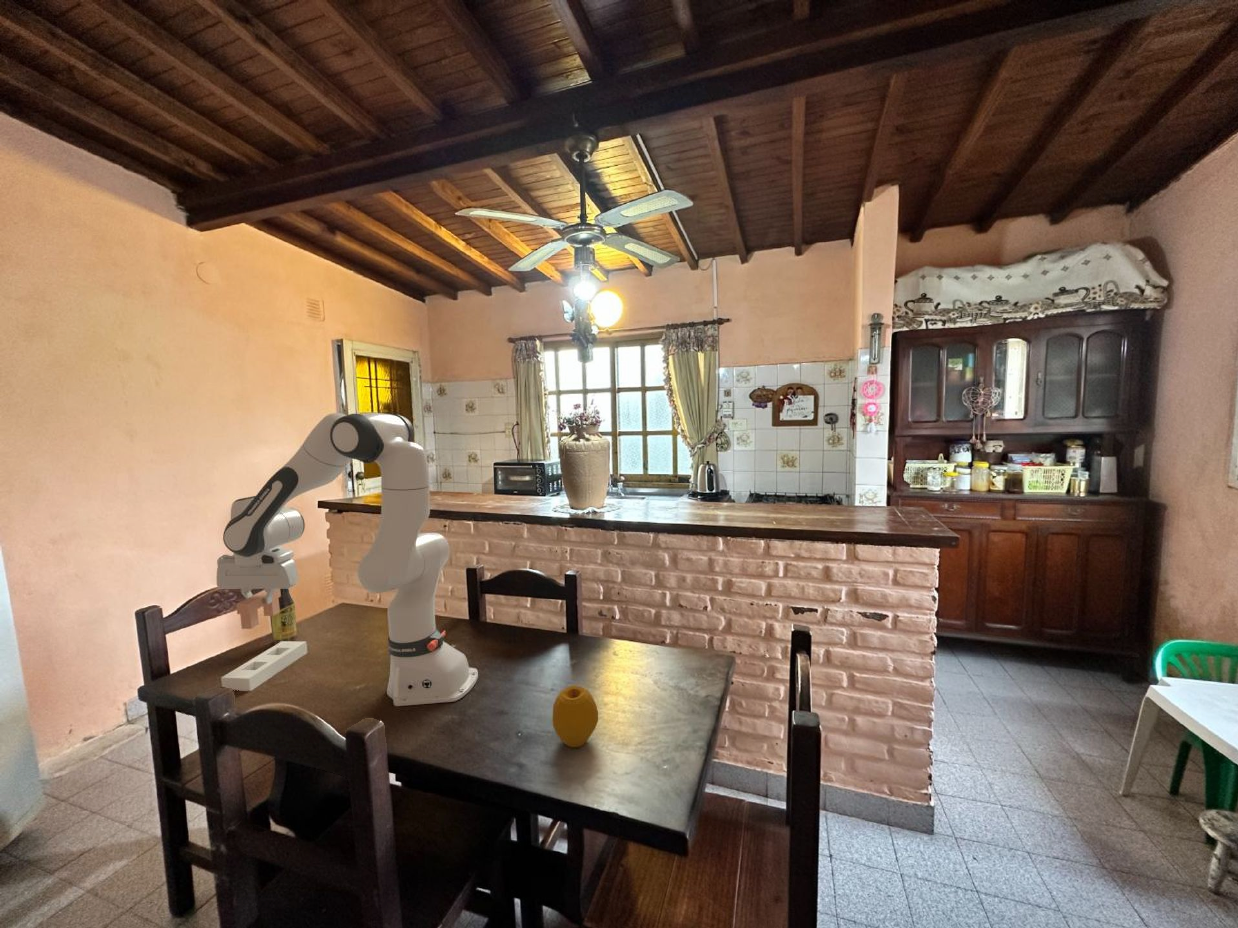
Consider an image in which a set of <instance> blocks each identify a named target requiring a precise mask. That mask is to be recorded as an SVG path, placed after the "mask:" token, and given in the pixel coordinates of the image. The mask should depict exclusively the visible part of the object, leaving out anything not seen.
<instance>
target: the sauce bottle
mask: <svg viewBox="0 0 1238 928" xmlns="http://www.w3.org/2000/svg"><path fill="white" fill-rule="evenodd" d="M289 589H290V588H288V589H280V592H281V597H279V608H280V612H279V613H277V614H276V615H274V616H270V618H271V628H272V630H271V631H272V639H273V644H274V645H276V644H278V643H280V642H281V641H295V640H297V633H298V632H297V630H298V629H297V617H296V605H295V602H294V600H293V598H292V596H291V594H290V590H289Z"/></svg>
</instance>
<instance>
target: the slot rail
mask: <svg viewBox="0 0 1238 928" xmlns="http://www.w3.org/2000/svg"><path fill="white" fill-rule="evenodd" d="M307 654H308V645H307V641H295V640H294V641H281V642H280V643H278V644H274V646H272V647H270V648H268V649H267V650H265V651H263V652H262V653H260V654H258V655H256V656H255V657H252V658H251V659H250V660H248V661H246V662H245V663H242V665H240V666H238V667H237V668H235V669H233V670H231V671H230V672H228V673H227V674H225V675H223V676H221V678H220V680H221V688H222V687H226V688H232V689H235V690H237V691H238V690H239V691H238V692H251V691H253V690H254V689H256V688H258V687H259V686H260V685H262V684H264V683H265V682H266V681H268V680H269V679H271V678H272V677H274V676H275V675H276V674H279V672H280V673H281V671H283V670H284V669H286V668H287V667H289V666H290V665H291V664H294V662H296V661H299V659H300V658H302V657H304V656H305V655H307ZM235 690H234V691H233V692H235Z"/></svg>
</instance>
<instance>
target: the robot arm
mask: <svg viewBox="0 0 1238 928" xmlns="http://www.w3.org/2000/svg"><path fill="white" fill-rule="evenodd" d="M414 439H415V429H414V426H413V424H412V422H411V421H410V420H409V419H408V418H406V417H405V416H402V415H400V414H396V413H382V412H376V411H375V412H362V413H350V414H344V413H340V412H334V413H329V414H327V415H325V416H324V417H323V418H322V419H321V420H320V421H319V422H318V423H317V424H316V425H315V426H314V427H313V429H312V430H311V431H310V433H309V434H308V435H307V437H306V438H305V440H304V441H303V443H302V444H301V445H300V447H299V449H298V450H297V451H296V452H295V454H294V455H293V456H292V457H291V458H290V459H289V460H288V461H287V462H286V463H285V464H284V465H283V466H282V467H281V468H279V469H278V470H277V471H276V472H275V473H274V474H273V475H272V476H271V477H270V478H269V479H268V480H267V482H265V484H264V485H263V486H262V487H261V488H260V490H259V491H258V492H257V494H256V495H252V496H248V497H243V498H238V499H235V500H234V501H233V502H232V504H231V508H230V520H229V521H228V523H227V524H226V526H225V528H224V531H223V537H222V538H223V539H222V541H223V544H224V545H225V547H226V548H227V549H228V551H230V552H231V553H233V554H223V555H221V556H220V557H218V558H217V560H216V562H217V563H216V564H217V565H216V566H217V568H216V586H217V587H218V588H219V589H220V590H240V593H241V594H242V596H243V597H244V598H245V599H247V598H249V597H251V596H253V595H254V594H253V593H252V591H251V590H265V592H267V595H266V597H264V598H262V601H263V604H270V603H271V602H272V596H273V594H274V592H275V590H276V589H288V588H289V589H291V588H292V587H294V586H296V585H297V584H298V581H299V577H298V576H299V574H298V568H297V563H296V562H295V560H294V559H292V558H293V557H294V554H295V553H294V551H293V550H292V549H290V548H286V547H283V545H285V544H289V543H292V542H295V541H296V540H298V539H300V538H301V537H302V535H303V534H304V532H305V526H306V525H305V524H306V523H305V519H304V517H303V514H301V513H300V511H299V510H298V509H295V508H293V507H286V505H287V504H288V503H289V502H290V501H292V500H293V499H294V498H297V497H298V496H301V495H302V494H305V493H307V492H309V491H311V490H314V489H318V488H320V487H323V486H326V485H329V484H330V483H332V482H334V480H336V479H337V478H338V477H339V476H340V475H341V474H342V473H343V472H344V470H345V469H346V468H347V466H348V464H349V463H350V461H351V459H353V460H357V461H359V462H361V463H364V464H366V465H369V464H372V463H374V462H375V463H376V464H377V465H378V466H379V469H380V476H381V479H380V481H381V482H380V484H381V485H380V486H381V508H380V509H381V510H380V520H379V526H378V528H377V532H376V535H375V538H374V540H373V541H372V543H371V546H370V548H369V550H368V551H367V552H366V553H365V554H364V555H363V557H362V558H361V559H360V561H359V563H358V565H357V578H358V580H359V583H360V584H361V586H362V587H363V588H364V589H365V590H366V591H368V592H369V593H372V594H381V593H387V592H392V591H395V592H396V593H395V594H394V596H393V598H392V599H391V600H390V602H389V604H388V606H387V622H388V623H387V625H388V634H389V635H388V637H387V646H388V654H389V656H390V665H389V666H390V667H389V679H388V684H387V688H386V694H387V696H388V697H389V698H390V699H392V700H393V701H392V703H393V705H394V706H395V707H402V706H414V705H425V704H427V705H428V704H437V703H438V704H439V703H451V702H456V701H458V700H460V699H461V698H463V697H464V696H466V695H467V694H468V693H469V692H470V691H471V690H472V689H473V687H474V685H476V683H477V681H478V678H479V672H478V669H477V668H475V667H469V662H468V659H467V657H466V655H465V654H464V653H463V652H461V651H459V650H458V649H456V648H454V647H453V646H452V645H449V643H447V642H445V641H444V639H443V638H444V637H445V636H446V630H443V631H442V632H440V631H439V629H438V627H437V626H436V613H435V611H436V609H435V608H436V607H435V600H436V592H437V587H438V583H439V579H440V576H441V574H442V570H443V568H444V567H445V564H446V563H447V561H448V560H449V558H450V554H451V549H450V544H449V542H448V541H447V539H446V537H445V536H444V535H442V534H440V533H438V532H422V533H420V531H421V529H422V527H423V526H424V524H425V523H426V522H427V521H428V519H429V517H430V515H431V513H430V512H431V501H430V500H431V499H430V498H431V497H430V496H431V495H430V494H431V490H430V489H431V488H430V487H431V486H430V472H429V464H428V459H427V453H426V450H425V449H424V447H422V445H419V444H418V443H416V442H414V441H415V440H414Z"/></svg>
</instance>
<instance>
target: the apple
mask: <svg viewBox="0 0 1238 928" xmlns="http://www.w3.org/2000/svg"><path fill="white" fill-rule="evenodd" d="M598 721H599V710H598V707H597V703H596V700H595V698H594V697H593V695H592V694H591V692H589V690H588V689H586V688H585V687H581V686H579V685H570V686H567V687H565V688H564V689H562V690H561V691H560V693H559V694H558V695H557V696H556V698H555V700H554V702H553V707H552V726H553V728H554V732H555V733H556V736H558V738H559V740H561V742H563V743H564V744H565V745H566V746H567V747H570V748H578V747H579V748H580V747H581V746H584V745H585V743H586V742H587V741H588V740H589V738H590V737H591V735H592V734H593V732H594V731H595V729H596V727H597V724H598Z"/></svg>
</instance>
